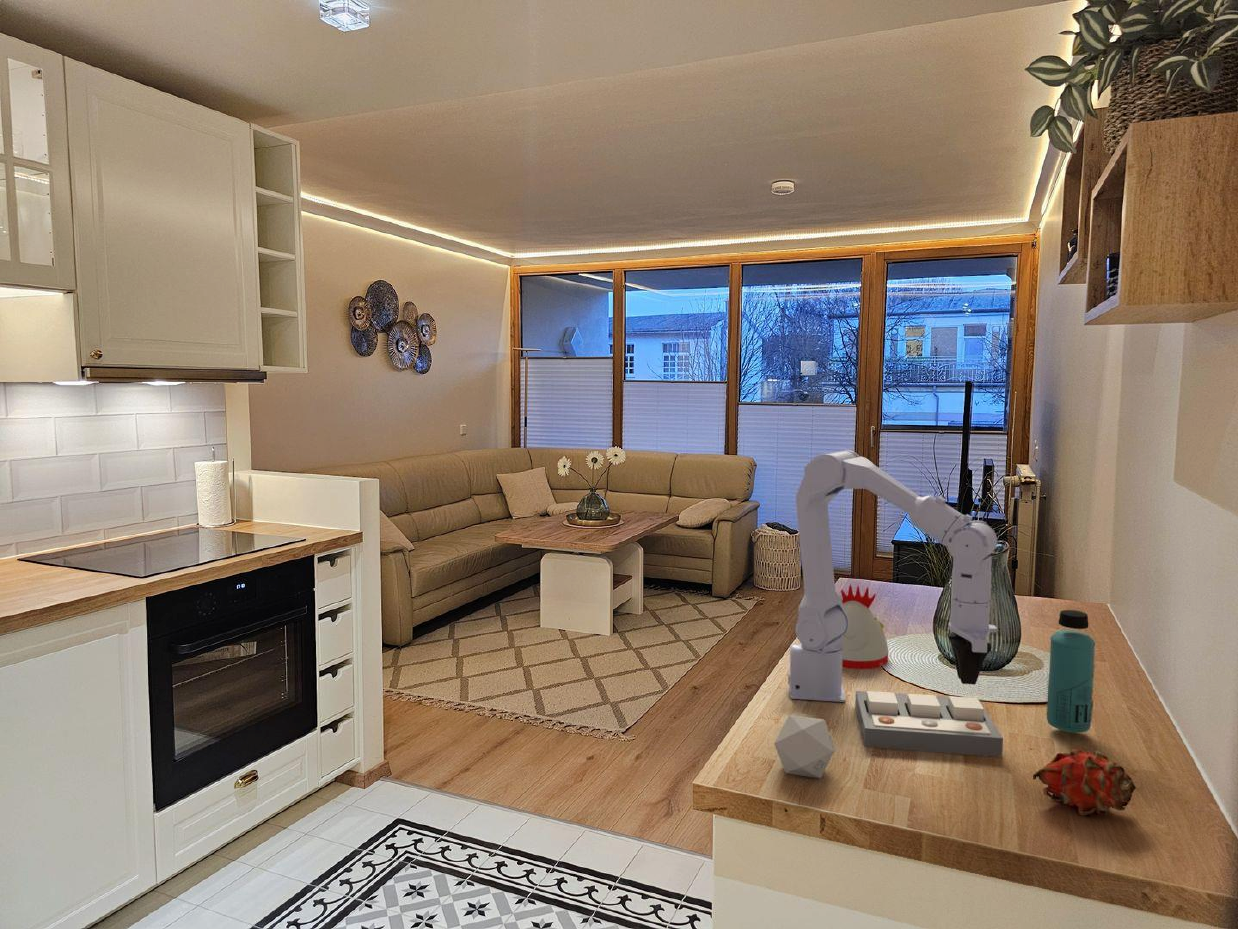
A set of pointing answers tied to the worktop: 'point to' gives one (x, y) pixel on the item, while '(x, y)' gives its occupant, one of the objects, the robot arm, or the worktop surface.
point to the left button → (882, 703)
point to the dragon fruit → (1086, 782)
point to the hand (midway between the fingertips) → (966, 681)
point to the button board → (927, 730)
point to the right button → (965, 708)
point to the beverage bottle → (1071, 675)
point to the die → (804, 746)
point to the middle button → (923, 705)
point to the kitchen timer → (862, 633)
